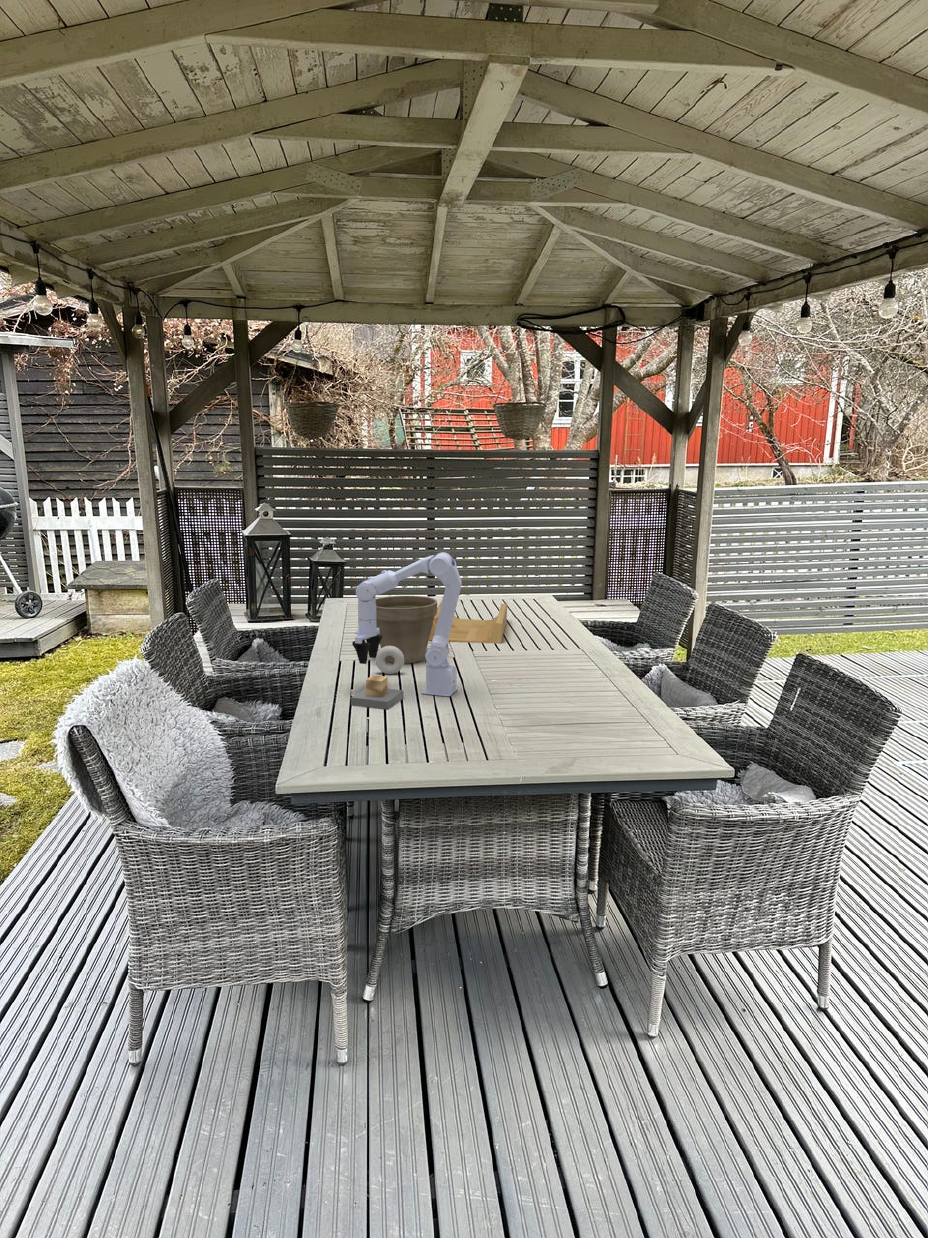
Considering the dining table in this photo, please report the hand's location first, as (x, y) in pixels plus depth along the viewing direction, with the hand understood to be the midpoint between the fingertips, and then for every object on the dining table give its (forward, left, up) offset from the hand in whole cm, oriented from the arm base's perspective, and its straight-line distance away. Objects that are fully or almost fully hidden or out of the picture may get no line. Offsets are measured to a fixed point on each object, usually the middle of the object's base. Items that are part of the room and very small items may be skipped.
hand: (368, 660), depth 253 cm
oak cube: (-8, +11, -7) cm, 15 cm away
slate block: (-8, +11, -10) cm, 17 cm away
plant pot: (+3, -38, -10) cm, 39 cm away
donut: (0, -18, -10) cm, 20 cm away
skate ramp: (-4, -89, -10) cm, 89 cm away
